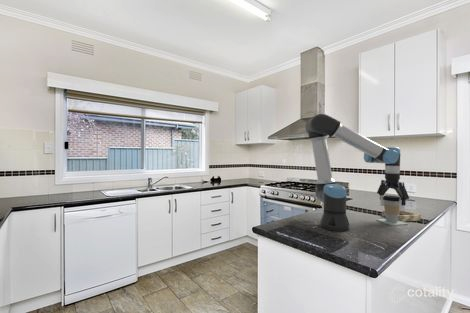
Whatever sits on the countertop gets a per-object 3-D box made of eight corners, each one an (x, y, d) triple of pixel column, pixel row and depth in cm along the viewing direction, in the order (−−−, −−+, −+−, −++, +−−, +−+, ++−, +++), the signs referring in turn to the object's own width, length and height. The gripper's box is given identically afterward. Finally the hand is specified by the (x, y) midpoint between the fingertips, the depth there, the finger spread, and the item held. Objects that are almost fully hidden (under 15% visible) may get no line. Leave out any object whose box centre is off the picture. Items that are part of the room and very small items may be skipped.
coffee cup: (395, 219, 146) (395, 195, 146) (404, 223, 137) (405, 198, 137) (379, 218, 147) (379, 194, 147) (387, 223, 138) (387, 197, 138)
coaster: (392, 225, 136) (392, 224, 136) (376, 220, 146) (376, 219, 146) (407, 224, 138) (407, 223, 138) (391, 219, 149) (391, 218, 149)
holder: (401, 221, 143) (401, 216, 143) (382, 215, 157) (382, 210, 157) (420, 220, 146) (420, 214, 146) (400, 214, 160) (400, 209, 160)
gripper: (417, 174, 130) (416, 212, 131) (380, 171, 155) (380, 203, 155) (406, 174, 129) (405, 213, 129) (371, 171, 153) (370, 204, 153)
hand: (391, 208), depth 142 cm, fingers open, 13 cm apart
